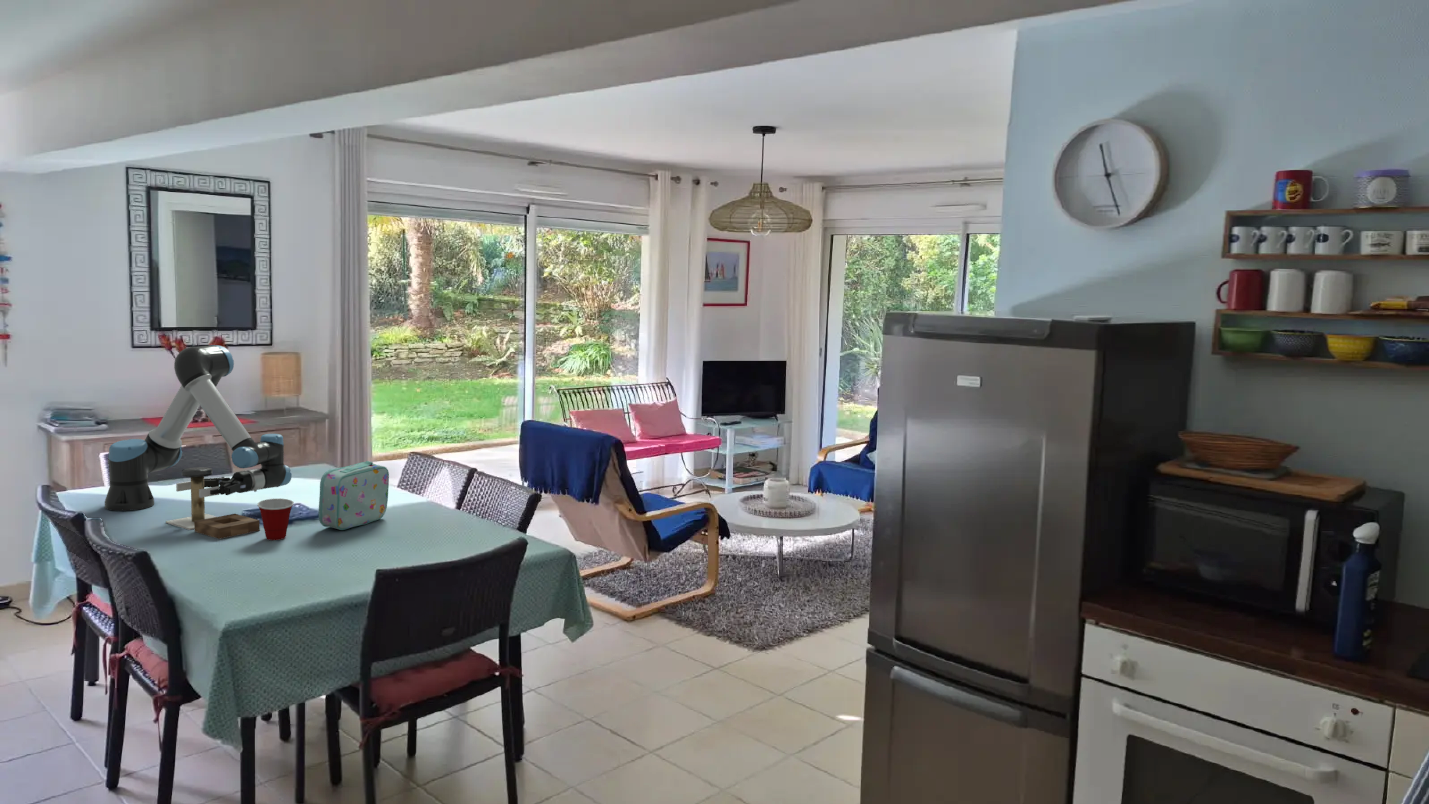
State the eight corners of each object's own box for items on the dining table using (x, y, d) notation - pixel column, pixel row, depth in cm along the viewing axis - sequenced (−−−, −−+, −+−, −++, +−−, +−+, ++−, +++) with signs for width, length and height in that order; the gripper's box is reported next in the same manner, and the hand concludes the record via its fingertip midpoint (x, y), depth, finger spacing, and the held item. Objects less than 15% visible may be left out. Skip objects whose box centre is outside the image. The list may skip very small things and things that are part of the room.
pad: (166, 522, 323) (165, 521, 323) (206, 515, 335) (206, 513, 335) (189, 530, 316) (189, 528, 316) (229, 522, 328) (229, 520, 328)
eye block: (194, 531, 314) (194, 521, 314) (234, 523, 326) (234, 513, 326) (219, 539, 307) (218, 528, 307) (259, 530, 319) (259, 520, 318)
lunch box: (368, 513, 347) (368, 455, 345) (392, 517, 344) (392, 458, 341) (315, 530, 322) (314, 468, 320) (339, 534, 319) (339, 471, 316)
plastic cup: (260, 544, 304) (259, 507, 302) (255, 535, 313) (255, 500, 311) (296, 540, 309) (296, 504, 308) (291, 532, 318) (291, 497, 317)
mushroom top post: (177, 521, 324) (176, 469, 322) (203, 516, 332) (202, 466, 330) (192, 525, 319) (191, 473, 317) (218, 520, 327) (217, 469, 325)
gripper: (268, 496, 333) (209, 507, 315) (227, 486, 346) (168, 495, 328) (268, 475, 332) (209, 485, 314) (226, 465, 345) (167, 474, 327)
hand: (188, 490), depth 321 cm, fingers open, 13 cm apart
